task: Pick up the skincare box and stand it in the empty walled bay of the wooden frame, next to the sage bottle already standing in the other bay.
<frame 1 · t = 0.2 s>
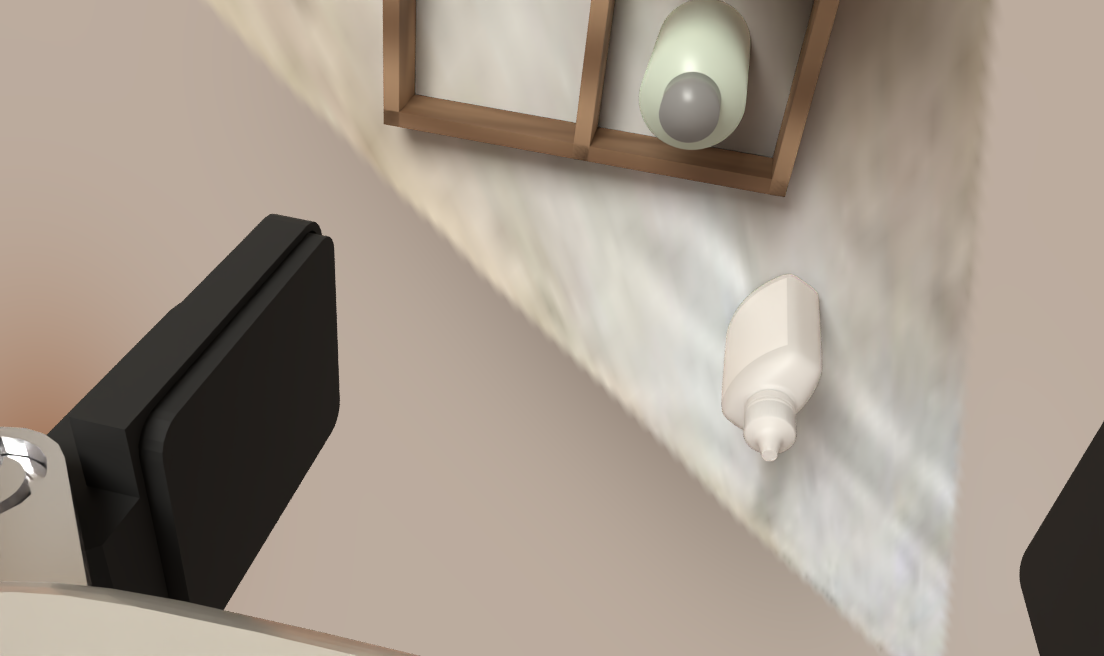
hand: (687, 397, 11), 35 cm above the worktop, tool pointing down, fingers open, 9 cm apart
eye dropper bottle: (771, 309, 52), on the worktop
sage bottle: (703, 45, 44), resting in wooden frame
wooden frame: (602, 28, 44), on the worktop
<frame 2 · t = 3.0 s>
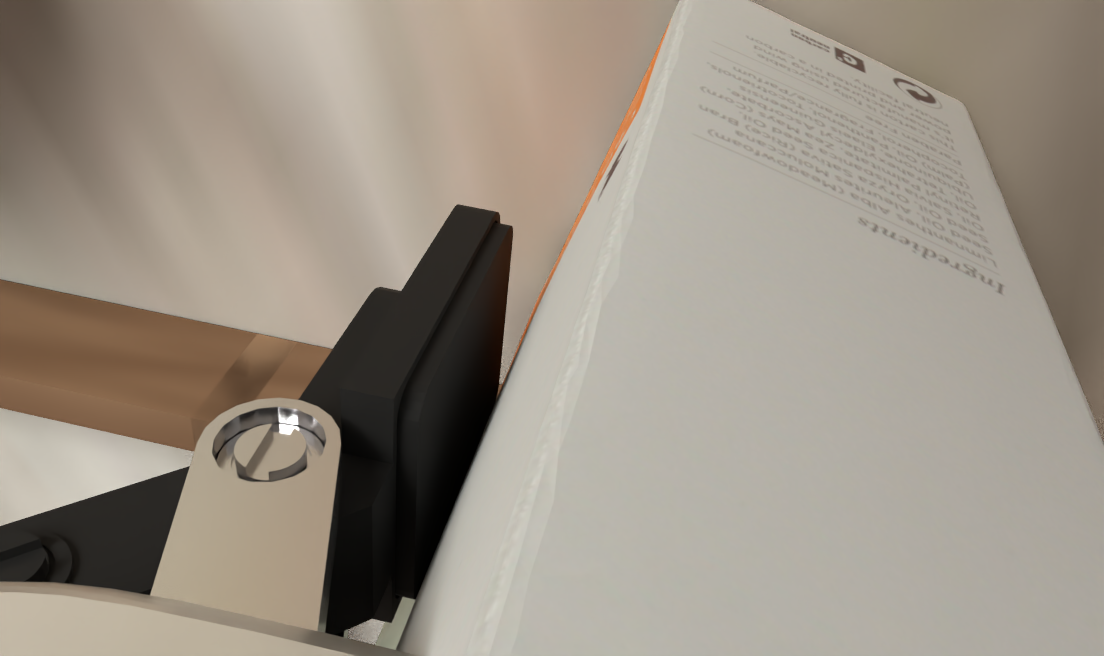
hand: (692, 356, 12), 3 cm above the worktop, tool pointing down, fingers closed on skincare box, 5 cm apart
sage bottle: (506, 590, 20), resting in wooden frame
skincare box: (723, 203, 14), on the worktop, touching gripper
wooden frame: (296, 541, 21), on the worktop
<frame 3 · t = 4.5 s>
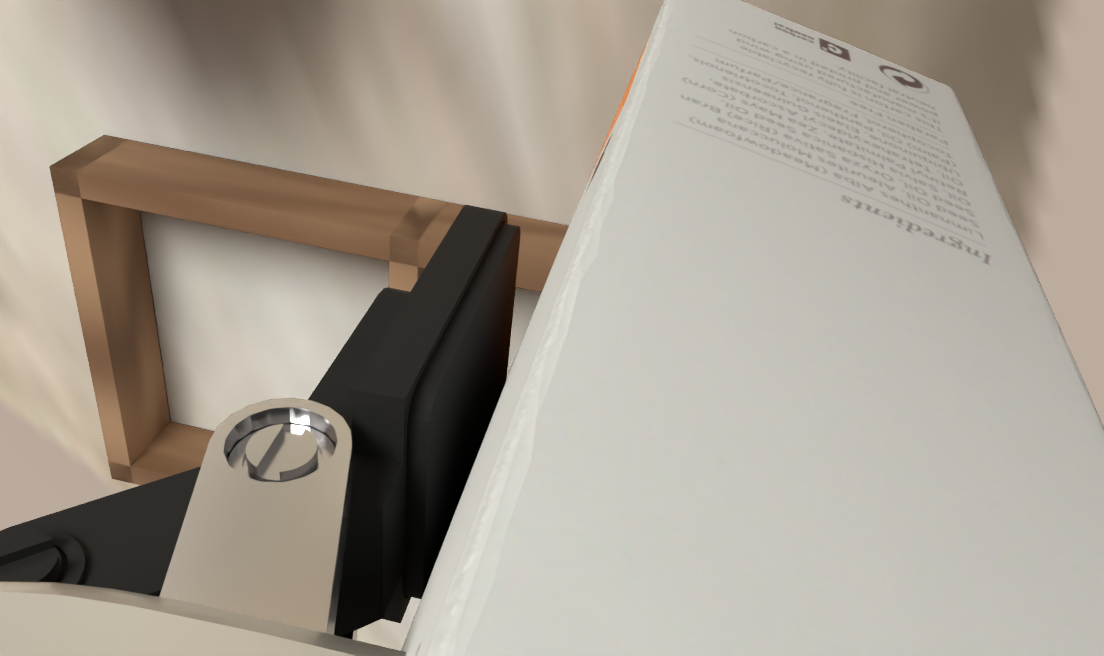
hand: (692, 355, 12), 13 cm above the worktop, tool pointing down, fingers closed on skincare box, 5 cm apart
skincare box: (720, 200, 14), point 10 cm above the worktop, touching gripper
wooden frame: (425, 363, 29), on the worktop
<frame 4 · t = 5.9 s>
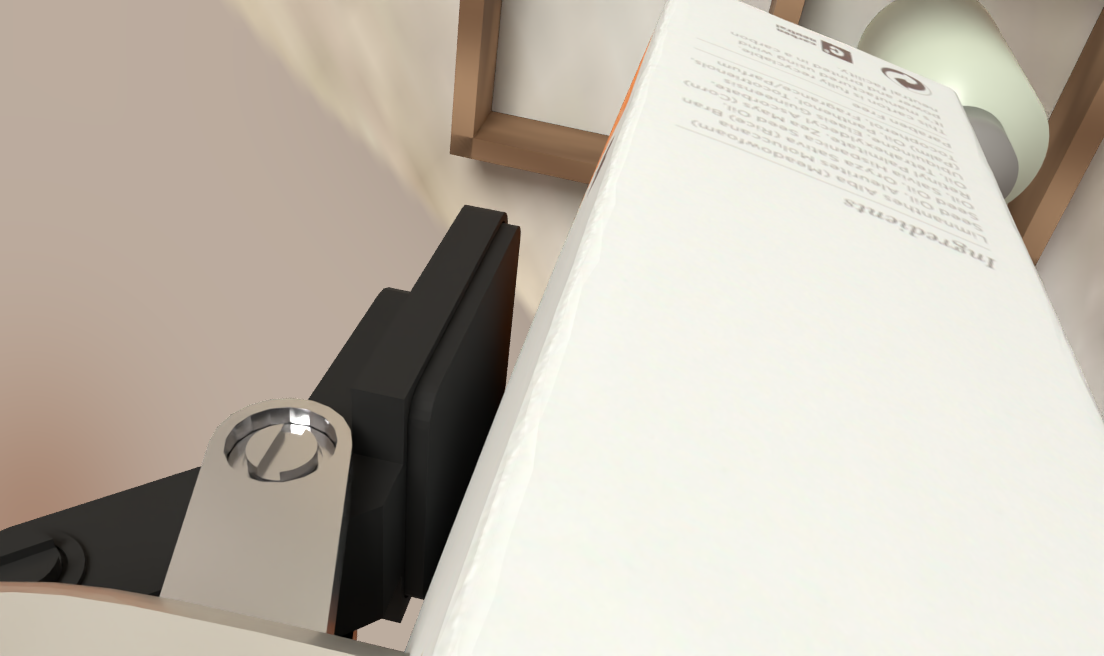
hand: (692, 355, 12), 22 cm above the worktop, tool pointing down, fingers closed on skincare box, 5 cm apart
sage bottle: (925, 57, 30), resting in wooden frame
skincare box: (722, 203, 14), point 18 cm above the worktop, touching gripper
wooden frame: (777, 28, 31), on the worktop
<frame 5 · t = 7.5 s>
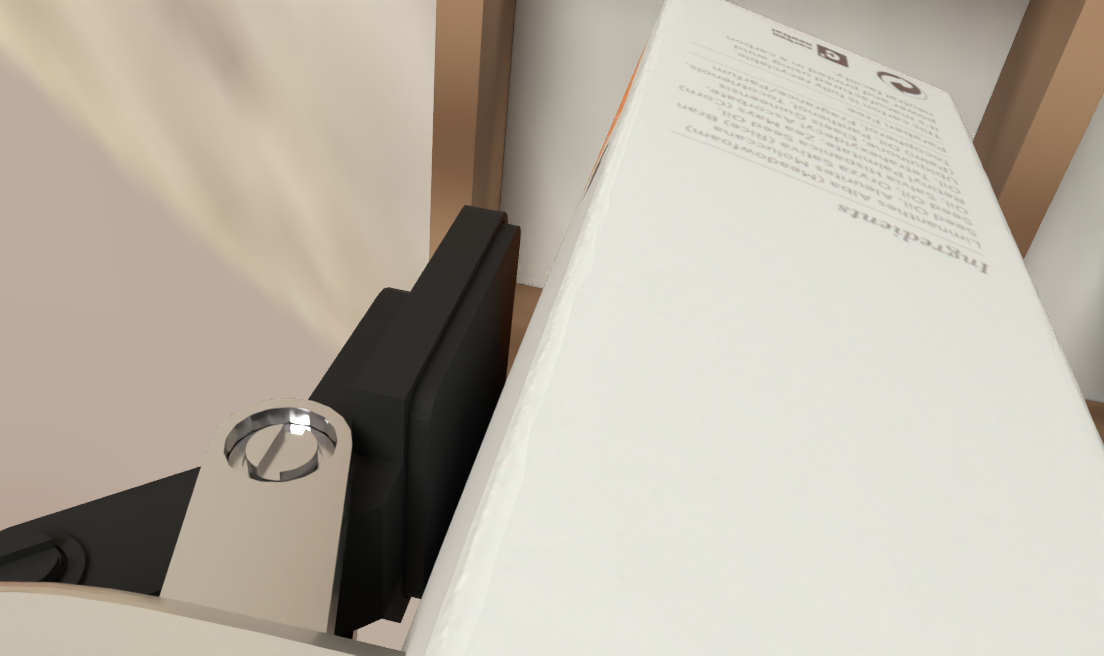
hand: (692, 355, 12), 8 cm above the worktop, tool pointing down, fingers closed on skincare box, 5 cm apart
skincare box: (718, 206, 14), point 4 cm above the worktop, touching gripper
wooden frame: (989, 157, 17), on the worktop
when the fingers open (3 cm above the worktop, at t = 8.7 s): skincare box stays where it is, resting in wooden frame.
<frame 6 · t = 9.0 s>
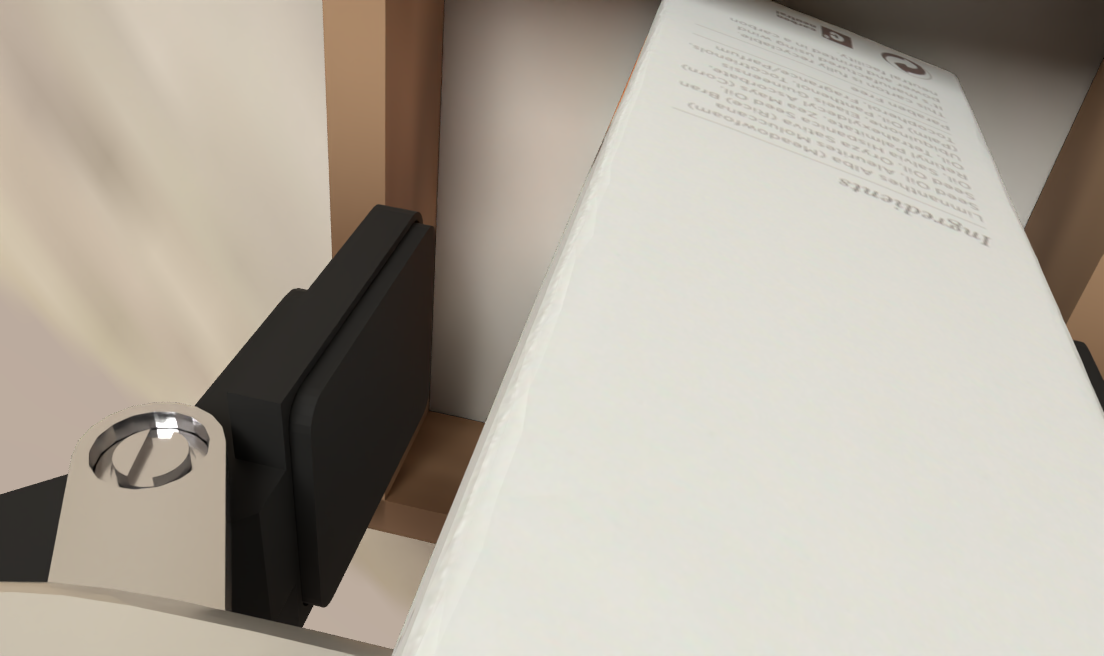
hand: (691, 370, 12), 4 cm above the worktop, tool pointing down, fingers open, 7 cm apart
skincare box: (725, 190, 14), resting in wooden frame
wooden frame: (1023, 293, 14), on the worktop
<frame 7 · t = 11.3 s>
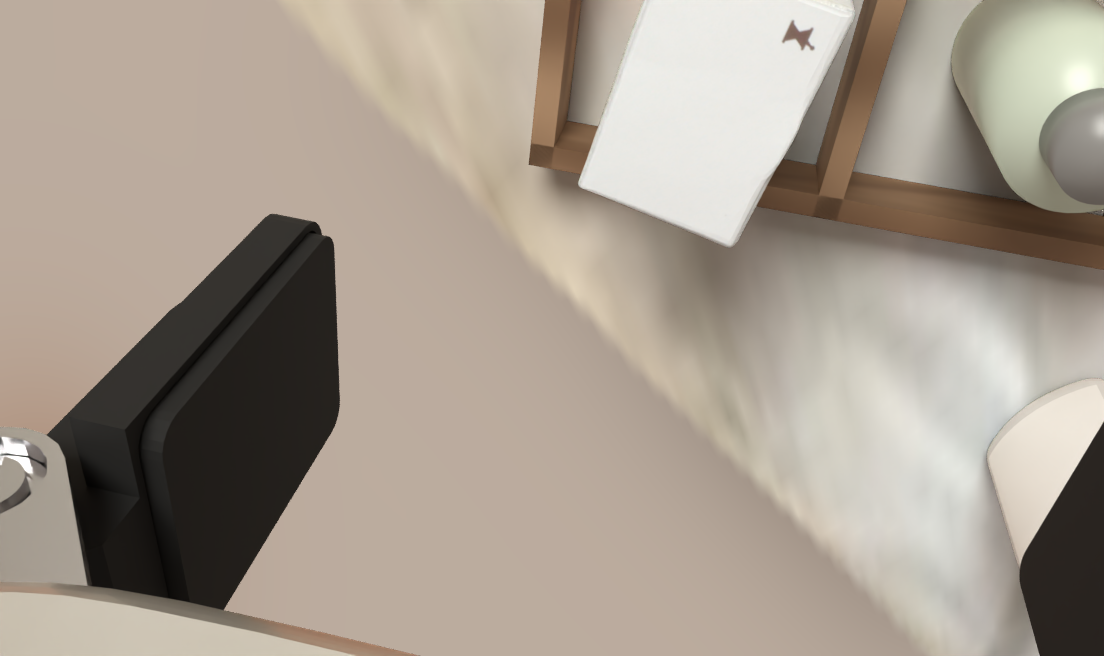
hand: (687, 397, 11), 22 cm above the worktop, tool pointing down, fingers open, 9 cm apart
eye dropper bottle: (1054, 423, 37), on the worktop
sage bottle: (1026, 50, 29), resting in wooden frame
wooden frame: (869, 24, 30), on the worktop
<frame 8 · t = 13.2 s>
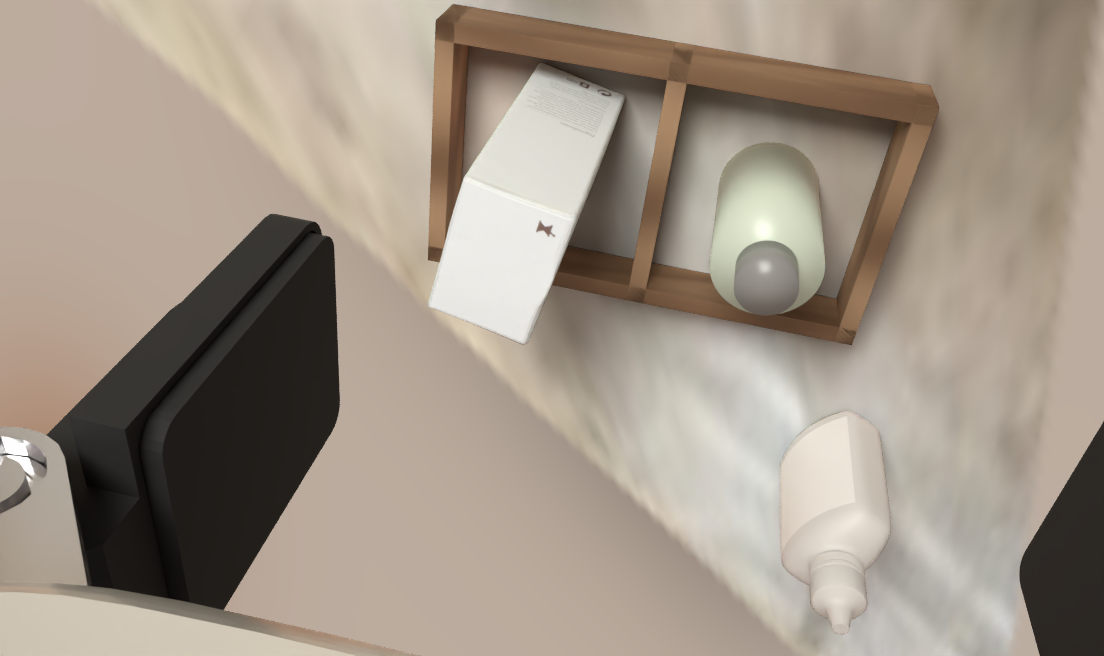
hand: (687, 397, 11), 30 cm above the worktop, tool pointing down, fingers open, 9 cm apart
eye dropper bottle: (827, 442, 49), on the worktop
sage bottle: (768, 188, 42), resting in wooden frame
skincare box: (562, 134, 43), resting in wooden frame
wooden frame: (661, 168, 42), on the worktop
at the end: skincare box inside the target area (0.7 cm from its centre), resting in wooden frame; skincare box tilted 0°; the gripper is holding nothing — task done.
